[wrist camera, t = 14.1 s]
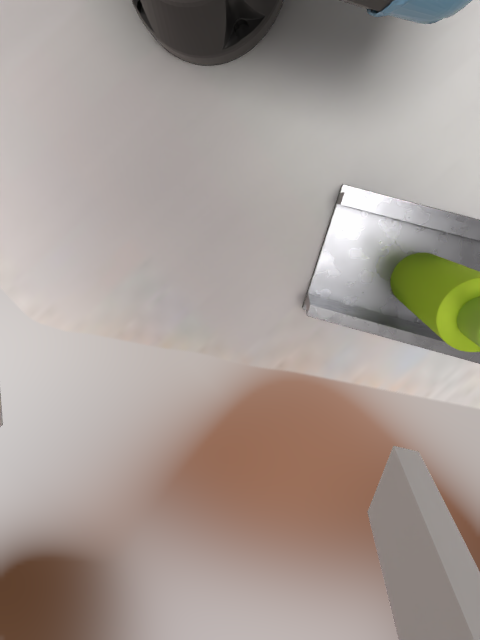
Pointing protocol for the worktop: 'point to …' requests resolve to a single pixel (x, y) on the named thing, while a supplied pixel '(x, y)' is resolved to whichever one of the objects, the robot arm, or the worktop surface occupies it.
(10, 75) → the worktop surface
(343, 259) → the track
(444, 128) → the worktop surface
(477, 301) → the soap dispenser
